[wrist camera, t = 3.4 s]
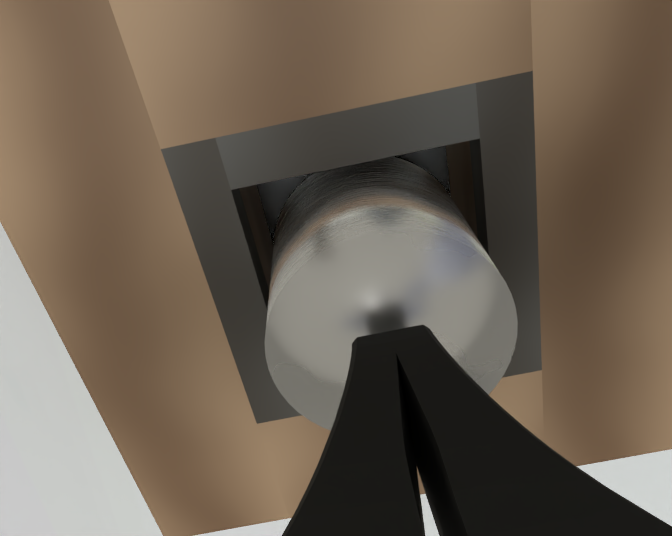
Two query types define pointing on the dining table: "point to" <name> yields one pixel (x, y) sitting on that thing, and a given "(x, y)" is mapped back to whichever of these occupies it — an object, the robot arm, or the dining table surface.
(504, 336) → the grey short rounded cylinder
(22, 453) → the dining table surface
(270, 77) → the band block
